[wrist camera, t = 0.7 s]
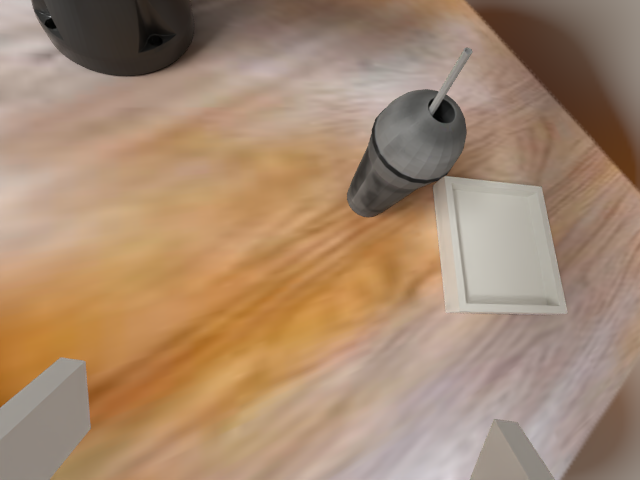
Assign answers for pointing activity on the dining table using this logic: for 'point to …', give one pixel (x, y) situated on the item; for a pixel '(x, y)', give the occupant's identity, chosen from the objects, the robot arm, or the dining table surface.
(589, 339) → the dining table surface
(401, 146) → the beverage cup
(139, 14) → the robot arm
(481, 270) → the tray
